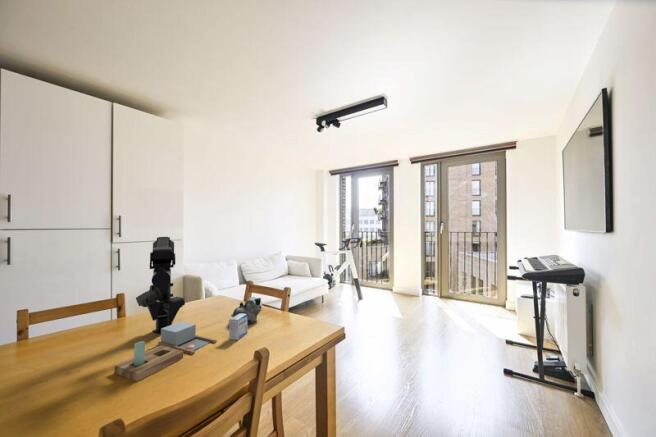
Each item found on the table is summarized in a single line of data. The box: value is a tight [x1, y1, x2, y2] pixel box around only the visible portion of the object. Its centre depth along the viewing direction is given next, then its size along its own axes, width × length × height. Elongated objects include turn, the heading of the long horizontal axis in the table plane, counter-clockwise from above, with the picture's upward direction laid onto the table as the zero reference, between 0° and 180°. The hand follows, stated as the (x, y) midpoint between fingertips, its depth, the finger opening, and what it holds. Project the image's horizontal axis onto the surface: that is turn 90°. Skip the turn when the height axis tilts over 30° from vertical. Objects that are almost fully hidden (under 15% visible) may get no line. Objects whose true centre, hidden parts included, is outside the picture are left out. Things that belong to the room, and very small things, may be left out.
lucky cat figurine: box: [230, 296, 263, 325], centre depth 138 cm, size 15×12×14 cm
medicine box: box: [228, 313, 248, 341], centre depth 119 cm, size 8×4×9 cm, turn 169°
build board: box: [113, 345, 184, 382], centre depth 95 cm, size 12×16×2 cm
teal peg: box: [133, 341, 146, 368], centre depth 91 cm, size 3×3×9 cm
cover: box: [160, 320, 197, 347], centre depth 114 cm, size 9×9×6 cm
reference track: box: [157, 334, 217, 355], centre depth 112 cm, size 20×11×1 cm, turn 66°
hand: (162, 322), depth 104 cm, fingers open, 9 cm apart
